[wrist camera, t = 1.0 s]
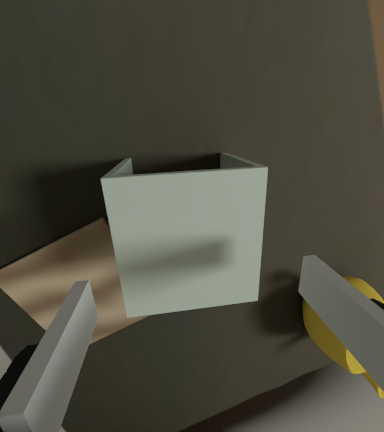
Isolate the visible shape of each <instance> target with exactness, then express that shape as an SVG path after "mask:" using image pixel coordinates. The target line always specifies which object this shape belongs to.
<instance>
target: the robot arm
mask: <svg viewBox="0 0 384 432" xmlns="http://www.w3.org/2000/svg"><path fill="white" fill-rule="evenodd" d="M298 292H299V293H300V294H301V296H302V297H303V298H304V299H305V300H306V301H307V303H308V304H309V305H310V306H311V307H312V308H313V310H314V311H315V312H316V313H317V314H318V315H319V317H320V318H321V319H322V320H323V321H324V322H325V324H326V325H327V326H328V327H329V328H330V329H331V331H332V332H333V333H334V334H335V335H336V336H337V338H338V339H339V340H340V341H341V342H342V344H343V345H344V346H345V347H346V348H347V349H348V351H349V352H350V353H351V354H352V355H353V356H354V358H355V359H356V360H357V361H358V362H359V363H360V365H361V366H362V367H363V368H364V369H365V370H366V372H367V373H368V374H369V375H370V376H371V377H372V379H373V380H374V381H375V382H376V383H377V384H378V386H379V387H380V388H381V389H382V390H383V391H384V303H382V302H380V301H378V300H376V299H374V298H372V299H369V298H368V297H366V296H365V295H364V294H363V293H361V292H360V291H359V290H358V289H356V288H355V287H354V286H353V285H351V284H350V283H349V282H348V281H346V280H345V279H344V278H343V277H341V276H340V275H339V274H338V273H336V272H335V271H334V270H333V269H332V268H330V267H329V266H328V265H327V264H325V263H324V262H323V261H322V260H320V259H319V258H318V257H317V256H315V255H311V256H303V263H302V270H301V277H300V283H299V290H298ZM97 319H98V314H97V310H96V306H95V302H94V298H93V294H92V290H91V286H90V281H89V280H84V281H75V283H74V285H73V286H72V288H71V290H70V291H69V293H68V295H67V297H66V298H65V300H64V302H63V303H62V305H61V307H60V309H59V310H58V312H57V314H56V316H55V317H54V319H53V321H52V322H51V324H50V326H49V328H48V329H47V331H46V333H45V334H44V336H43V338H42V340H41V341H40V343H39V344H36V345H28V346H26V347H25V348H24V349H23V350H22V351H21V352H20V353H19V354H18V355H17V356H16V357H15V358H14V360H13V361H12V363H11V364H10V366H9V368H8V369H7V372H6V373H5V374H4V375H3V377H2V378H1V380H0V432H59V430H60V427H61V424H62V421H63V418H64V415H65V412H66V409H67V407H68V404H69V401H70V398H71V395H72V392H73V389H74V386H75V383H76V380H77V377H78V375H79V372H80V369H81V366H82V363H83V360H84V357H85V354H86V351H87V348H88V346H89V343H90V340H91V337H92V334H93V331H94V328H95V325H96V322H97Z"/></svg>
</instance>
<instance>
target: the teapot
mask: <svg viewBox="0 0 384 432" xmlns="http://www.w3.org/2000/svg"><path fill="white" fill-rule="evenodd" d="M343 278H344V279H345V280H346V281H348V282H349V283H350V284H351V285H353V286H354V287H355V288H356V289H358V290H359V291H360V292H361V293H363V294H364V295H365V296H366V297H368V298H369V299H372V298H374V299H376V300H378V301H380V302H382V303H384V301H383V299H382V298H381V297H380V296H379V294H378V293H377V292H376V291H375V290H374V289H373V288H372V287H371V286H369V285H368V284H367V283H366V282H365V281H363V280H361V279H359V278H356V277H350V276H343ZM303 319H304V324H305V328H306V330H307V332H308V334H309V336H310V337H311V338H312V340H313V341H314V342H315V343H316V344H317V346H318V347H319V348H320V349H321V350H322V351H323V352H324V353H325V354H326V355H327V356H329V357H330V358H331V359H332V360H334V361H335V362H336V363H338V364H339V365H340V366H342V367H343V368H345V369H346V370H348V371H349V372H351V373H353V374H360V373H361V374H363V375H364V376H365V378H366V379H367V380H368V381H369V382H370V383H371V384H372V386H373V387H374V389H375V390H376V392H377V394H378V395H379V396H380V397H381V398H383V399H384V391H383V390H382V389H381V388H380V387H379V386H378V384H377V383H376V382H375V381H374V380H373V379H372V377H371V376H370V375H369V374H368V373H367V372H366V370H365V369H364V368H363V367H362V366H361V365H360V363H359V362H358V361H357V360H356V359H355V358H354V356H353V355H352V354H351V353H350V352H349V351H348V349H347V348H346V347H345V346H344V345H343V344H342V342H341V341H340V340H339V339H338V338H337V336H336V335H335V334H334V333H333V332H332V331H331V329H330V328H329V327H328V326H327V325H326V324H325V322H324V321H323V320H322V319H321V318H320V317H319V315H318V314H317V313H316V312H315V311H314V310H313V308H312V307H311V306H310V305H309V304H308V303H307V301H306V300H305V299H303Z"/></svg>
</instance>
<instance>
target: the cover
mask: <svg viewBox="0 0 384 432" xmlns="http://www.w3.org/2000/svg"><path fill="white" fill-rule="evenodd" d="M267 174H268V167H266V166H263V165H260V164H257V163H254V162H251V161H248V160H246V159H243V158H240V157H237V156H234V155H231V154H228V153H225V152H224V153H220V169H209V170H194V171H179V172H165V173H150V174H135V175H133V170H132V162H131V158H125V159H124V160H123V161H122V162H120V163H119V164H118V165H117V166H115V167H114V168H113V169H112V170H111V171H109V172H108V173H107V174H106V175H104V176H103V177H102V178H101V184H102V189H103V194H104V200H105V205H106V210H107V215H108V220H109V226H110V231H111V236H112V241H113V246H114V251H115V257H116V262H117V267H118V272H119V277H120V283H121V288H122V293H123V298H124V303H125V309H126V314H127V318H130V317H138V316H146V315H153V314H161V313H168V312H176V311H183V310H191V309H198V308H206V307H214V306H221V305H229V304H236V303H244V302H251V301H258V290H259V277H260V264H261V251H262V238H263V225H264V212H265V199H266V187H267Z"/></svg>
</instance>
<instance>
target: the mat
mask: <svg viewBox="0 0 384 432" xmlns="http://www.w3.org/2000/svg"><path fill="white" fill-rule="evenodd" d="M84 280H89V281H90V286H91V290H92V294H93V298H94V302H95V306H96V310H97V314H98V319H97V322H96V325H95V328H94V331H93V334H92V337H91V340H90V343H89V344H91V343H93V342H95V341H97V340H99V339H101V338H103V337H105V336H108V335H110V334H112V333H114V332H116V331H118V330H120V329H122V328H124V327H126V326H128V325H131V324H133V323H135V322H137V321H139V320H141V319H143V318H145V317H147V316H149V315H146V316H138V317H130V318H127V314H126V309H125V303H124V298H123V293H122V288H121V283H120V277H119V272H118V267H117V262H116V257H115V251H114V246H113V241H112V236H111V231H110V226H109V224H108V223H107V221H106V220H105V219H104V217H102V218H100V219H98V220H96V221H94V222H92V223H90V224H88V225H86V226H84V227H82V228H80V229H78V230H76V231H74V232H72V233H70V234H68V235H66V236H64V237H62V238H60V239H58V240H56V241H54V242H52V243H50V244H48V245H46V246H44V247H42V248H41V249H39V250H37V251H35V252H33V253H31V254H29V255H27V256H25V257H23V258H21V259H19V260H17V261H15V262H13V263H11V264H9V265H7V266H5V267H3V268H1V269H0V288H1V289H2V290H3V291H4V292H5V293H6V294H7V295H9V296H10V297H11V298H12V299H13V300H14V301H15V302H16V303H17V304H18V305H19V306H20V307H21V308H22V309H23V310H24V311H25V312H27V313H28V314H29V315H30V316H31V317H32V318H33V319H34V320H35V321H36V322H37V323H38V324H39V325H40V326H41V327H42V328H43V329H45V330H46V331H47V329H48V328H49V326H50V324H51V322H52V321H53V319H54V317H55V316H56V314H57V312H58V310H59V309H60V307H61V305H62V303H63V302H64V300H65V298H66V297H67V295H68V293H69V291H70V290H71V288H72V286H73V285H74V283H75V281H84Z"/></svg>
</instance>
